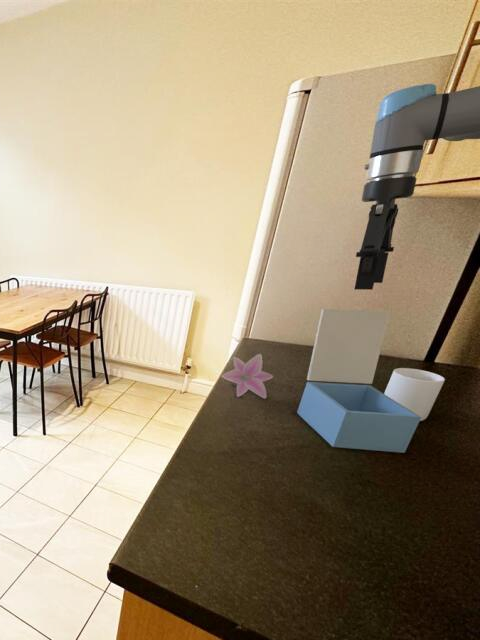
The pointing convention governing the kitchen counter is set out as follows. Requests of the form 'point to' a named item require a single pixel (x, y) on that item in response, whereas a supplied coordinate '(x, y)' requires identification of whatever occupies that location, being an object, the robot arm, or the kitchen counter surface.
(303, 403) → the case
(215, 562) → the kitchen counter surface
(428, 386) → the cup
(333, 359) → the case lid
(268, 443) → the kitchen counter surface
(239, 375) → the lily
